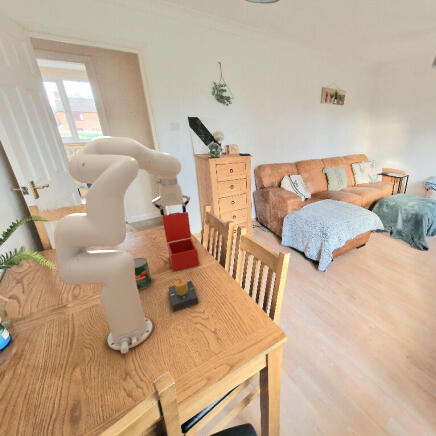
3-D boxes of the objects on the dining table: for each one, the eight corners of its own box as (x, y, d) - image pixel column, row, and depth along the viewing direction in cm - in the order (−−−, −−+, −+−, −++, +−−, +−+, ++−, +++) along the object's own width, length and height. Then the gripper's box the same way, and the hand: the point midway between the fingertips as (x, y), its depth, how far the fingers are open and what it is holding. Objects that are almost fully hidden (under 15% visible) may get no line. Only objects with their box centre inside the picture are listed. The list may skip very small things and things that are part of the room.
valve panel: (198, 303, 94) (197, 296, 93) (173, 311, 90) (172, 304, 89) (191, 286, 104) (191, 280, 103) (169, 292, 99) (168, 286, 98)
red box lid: (187, 212, 120) (185, 208, 124) (162, 216, 114) (160, 212, 118) (191, 237, 125) (189, 233, 130) (166, 242, 119) (165, 237, 124)
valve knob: (189, 293, 95) (187, 283, 93) (177, 297, 93) (175, 287, 91) (187, 287, 98) (185, 277, 97) (175, 290, 96) (173, 280, 94)
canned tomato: (146, 276, 109) (141, 255, 104) (155, 282, 105) (150, 261, 100) (127, 285, 103) (121, 263, 98) (136, 292, 99) (130, 270, 94)
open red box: (198, 264, 119) (197, 249, 115) (173, 271, 113) (170, 255, 109) (193, 252, 129) (191, 238, 126) (169, 257, 123) (166, 243, 120)
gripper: (149, 185, 108) (155, 220, 114) (189, 182, 117) (193, 214, 123) (148, 181, 114) (154, 215, 120) (186, 178, 123) (190, 210, 129)
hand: (174, 214), depth 122 cm, fingers open, 9 cm apart
